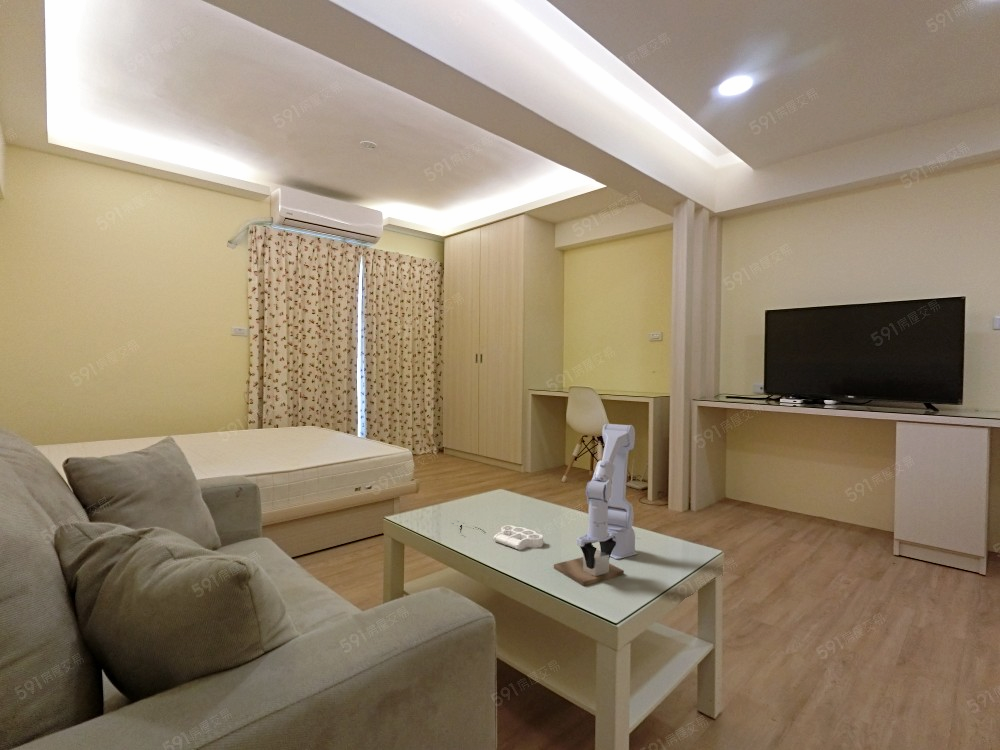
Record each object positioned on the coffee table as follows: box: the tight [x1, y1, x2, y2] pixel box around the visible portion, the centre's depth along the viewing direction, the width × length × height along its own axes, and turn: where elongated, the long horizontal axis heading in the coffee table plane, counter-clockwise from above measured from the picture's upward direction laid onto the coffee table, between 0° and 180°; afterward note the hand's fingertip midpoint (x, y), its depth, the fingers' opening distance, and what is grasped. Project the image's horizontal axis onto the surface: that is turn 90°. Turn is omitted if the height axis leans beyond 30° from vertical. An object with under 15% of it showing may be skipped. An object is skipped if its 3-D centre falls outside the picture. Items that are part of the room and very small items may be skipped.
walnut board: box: [553, 556, 625, 587], centre depth 145 cm, size 16×14×5 cm
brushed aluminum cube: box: [582, 548, 610, 576], centre depth 142 cm, size 5×5×5 cm
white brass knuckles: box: [492, 524, 544, 551], centre depth 170 cm, size 3×18×15 cm
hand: (597, 565), depth 142 cm, fingers closed on brushed aluminum cube, 5 cm apart
